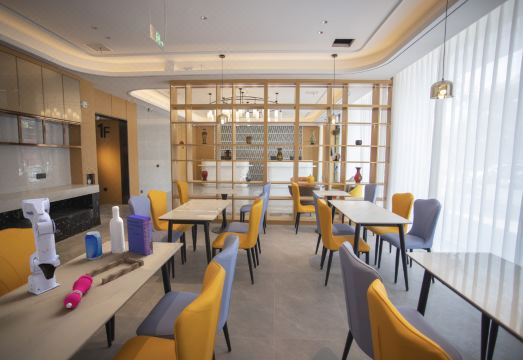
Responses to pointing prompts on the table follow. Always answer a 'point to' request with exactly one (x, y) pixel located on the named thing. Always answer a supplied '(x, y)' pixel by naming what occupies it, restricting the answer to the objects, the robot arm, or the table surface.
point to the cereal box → (140, 234)
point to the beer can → (93, 245)
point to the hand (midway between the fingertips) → (49, 278)
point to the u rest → (133, 261)
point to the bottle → (117, 232)
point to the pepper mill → (78, 291)
